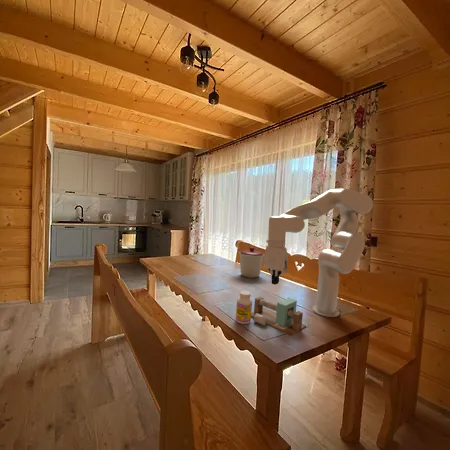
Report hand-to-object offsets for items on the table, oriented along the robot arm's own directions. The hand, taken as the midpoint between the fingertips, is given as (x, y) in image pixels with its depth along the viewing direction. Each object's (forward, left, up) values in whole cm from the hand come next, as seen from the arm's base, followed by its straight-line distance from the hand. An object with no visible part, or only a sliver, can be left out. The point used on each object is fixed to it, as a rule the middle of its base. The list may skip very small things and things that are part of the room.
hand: (275, 283), depth 117 cm
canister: (-45, -50, -17) cm, 70 cm away
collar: (+1, +7, -15) cm, 17 cm away
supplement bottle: (+13, -6, -17) cm, 22 cm away
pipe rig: (+1, +3, -16) cm, 17 cm away
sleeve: (+10, 0, -16) cm, 18 cm away
